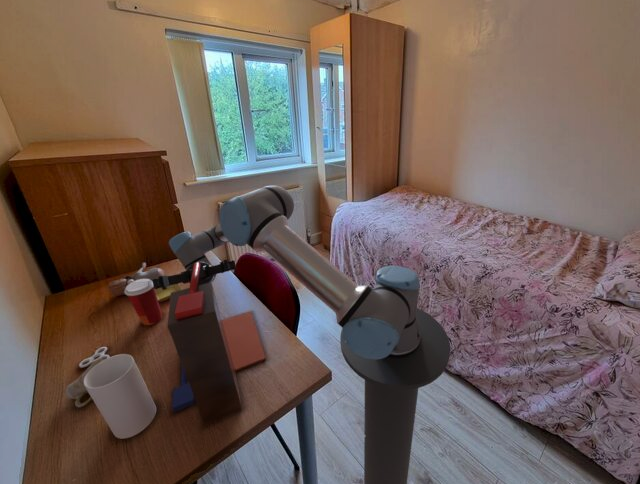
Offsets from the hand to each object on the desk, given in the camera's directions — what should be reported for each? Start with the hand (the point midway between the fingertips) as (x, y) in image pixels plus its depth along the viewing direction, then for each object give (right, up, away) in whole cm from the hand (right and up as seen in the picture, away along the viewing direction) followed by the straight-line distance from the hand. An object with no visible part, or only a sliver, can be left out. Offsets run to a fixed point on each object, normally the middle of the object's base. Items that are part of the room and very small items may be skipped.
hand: (193, 274), depth 71 cm
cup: (-10, -32, -6) cm, 34 cm away
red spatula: (+5, -2, -9) cm, 11 cm away
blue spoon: (-5, -28, +4) cm, 28 cm away
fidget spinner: (-33, -25, +11) cm, 43 cm away
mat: (+5, -22, +15) cm, 28 cm away
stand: (+8, -30, -1) cm, 31 cm away
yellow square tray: (-30, -14, +37) cm, 49 cm away
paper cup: (-27, -19, +24) cm, 41 cm away
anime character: (-43, -12, +41) cm, 61 cm away
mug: (-25, -29, +2) cm, 39 cm away
